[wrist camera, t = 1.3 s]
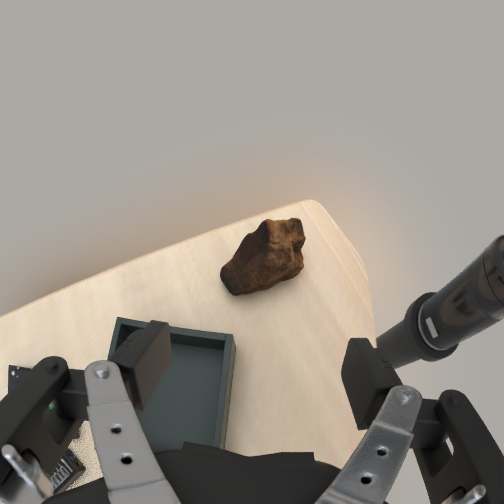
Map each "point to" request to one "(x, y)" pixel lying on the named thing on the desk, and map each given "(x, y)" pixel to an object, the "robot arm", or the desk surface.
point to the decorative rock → (265, 257)
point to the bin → (187, 388)
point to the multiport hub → (66, 472)
